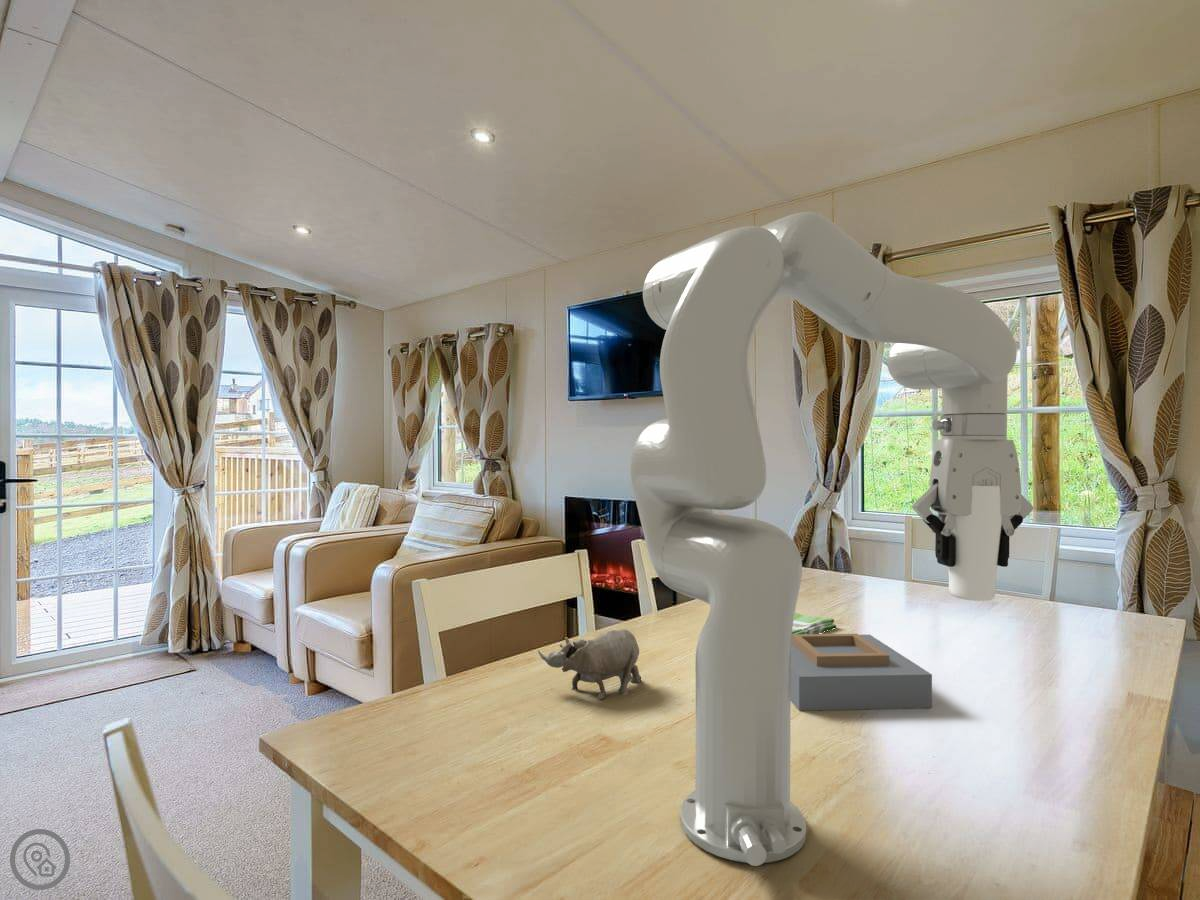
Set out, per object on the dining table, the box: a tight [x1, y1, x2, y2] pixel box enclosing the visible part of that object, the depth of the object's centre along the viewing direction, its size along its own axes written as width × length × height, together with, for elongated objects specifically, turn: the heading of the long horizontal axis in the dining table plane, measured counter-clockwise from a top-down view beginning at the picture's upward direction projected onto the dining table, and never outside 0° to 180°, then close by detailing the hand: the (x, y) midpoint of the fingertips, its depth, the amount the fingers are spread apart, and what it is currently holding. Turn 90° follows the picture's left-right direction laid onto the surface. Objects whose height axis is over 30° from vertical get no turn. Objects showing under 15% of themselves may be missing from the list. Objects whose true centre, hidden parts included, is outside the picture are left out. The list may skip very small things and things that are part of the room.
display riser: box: [790, 633, 933, 712], centre depth 106 cm, size 20×20×6 cm
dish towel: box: [792, 611, 837, 634], centre depth 137 cm, size 17×23×4 cm
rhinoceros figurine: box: [537, 628, 642, 701], centre depth 103 cm, size 8×14×15 cm
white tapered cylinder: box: [945, 485, 1002, 602], centre depth 86 cm, size 7×7×15 cm
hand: (971, 563), depth 86 cm, fingers closed on white tapered cylinder, 6 cm apart
